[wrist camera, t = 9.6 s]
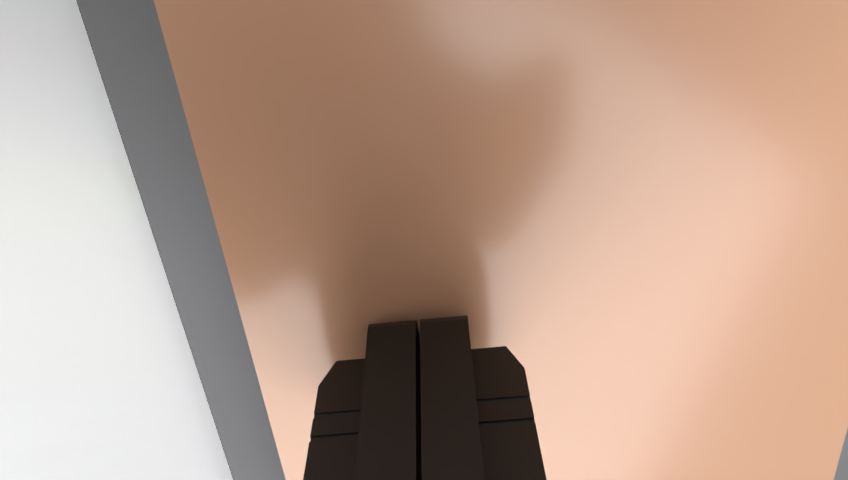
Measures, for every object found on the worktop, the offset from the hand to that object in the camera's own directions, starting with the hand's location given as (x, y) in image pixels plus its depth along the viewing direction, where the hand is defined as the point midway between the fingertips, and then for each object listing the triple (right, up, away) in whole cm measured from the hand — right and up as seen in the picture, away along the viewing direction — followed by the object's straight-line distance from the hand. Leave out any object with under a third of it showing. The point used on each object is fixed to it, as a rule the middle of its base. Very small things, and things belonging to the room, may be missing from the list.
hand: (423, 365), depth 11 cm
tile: (+2, +1, 0) cm, 3 cm away
